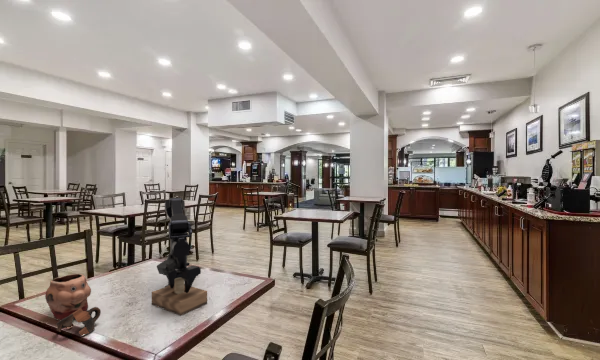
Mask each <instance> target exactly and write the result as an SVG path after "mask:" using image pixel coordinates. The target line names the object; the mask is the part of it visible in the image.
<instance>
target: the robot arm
mask: <svg viewBox="0 0 600 360" xmlns="http://www.w3.org/2000/svg"><path fill="white" fill-rule="evenodd" d="M182 198H183V197H182ZM182 198H181V197H171V198H169V199H168V200H165V201H164V211H165V212H166V216H167V217H168V219H169V222H168V239H169V240H170V252H169V253H168V256H167V257H166V259H165V260H163V261H161V262H160V263H158V264H157V265H156V270H157V272H158V274H160V275H163V276H166V279H167V284H166V285H165V286H164V287H167V286H170V287H171V288H173V287H174V284H175V278H179V277H181V278H182V279H184V284H185V292H186V293H188V292H189V290H190V288H191V286H192V287H193V284H194V281H195V280H196V278H197V277H198V276H199V275H201V273H202V269H201V267H199V266H198V265H197V266H196V265H191V266H190V262H188V256H190V251H191V246H190V243H189V242H188V238H191V237H192V234H193V230H192V223H191V221H190V220H189V219H188V216H186V215H185V214H184V211H185V208H186V203H185V202H186V201H185V200H184V199H182Z"/></svg>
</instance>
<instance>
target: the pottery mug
mask: <svg viewBox="0 0 600 360" xmlns="http://www.w3.org/2000/svg"><path fill="white" fill-rule="evenodd" d="M93 313H95V314H94V316H92V314H93ZM101 314H102V313H101V308H99V307H97V306H94V307H91V308H90V309H88V310H87V311H83V310H82V308H80V309H78V310H77V311H75V312H73V313H72V314H70V315H69V316H68V317H66V318H64V319H62V320H61V321H60V320H58V322H56V323H55V326H56V332H59V333H62V329H65V328H67V327H71V326H73V327H74V324H73V320H74V319H75V320H76V322H77V323H78V324H81V323H82V325H83V326H84V327H83V328H82V329H80V330H79V331H78V334H79V335H80V336H81V335H83V334H87V333H88V334H90V333H91V332H93V331H94V330H95V324H96V321H97V320H98V319H99V318H100V316H101ZM88 334H87V335H88Z"/></svg>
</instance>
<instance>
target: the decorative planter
mask: <svg viewBox="0 0 600 360" xmlns="http://www.w3.org/2000/svg"><path fill="white" fill-rule="evenodd" d="M44 295H45V301H46V303H47V305H48V307H49V309H50V312H51V313H52V315H53V318H54V320H56V319H58V320H57V321H60V320H62V319H64V318H66V317H68V316H69V315H70V314H72V313H73V312H75V311H77V310H78V309H80V308H82V310H83V311H88V310H89V301H88V298H89V297H90V296H91V295H92V288H91V287H90V285H89V283H88V281H87V279H86V276H85V275H84V274H81V273H73V274H66V275H63V276H60V277H59V276H58V277H55V278H53V279H51V280H50V283H49V287H48V288H47V290H46V292H45V294H44Z"/></svg>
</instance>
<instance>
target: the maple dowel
mask: <svg viewBox="0 0 600 360" xmlns="http://www.w3.org/2000/svg"><path fill="white" fill-rule="evenodd" d="M184 284H185V283H184V279H182V278H181V277H179V278H175V294H181V293H184Z"/></svg>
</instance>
